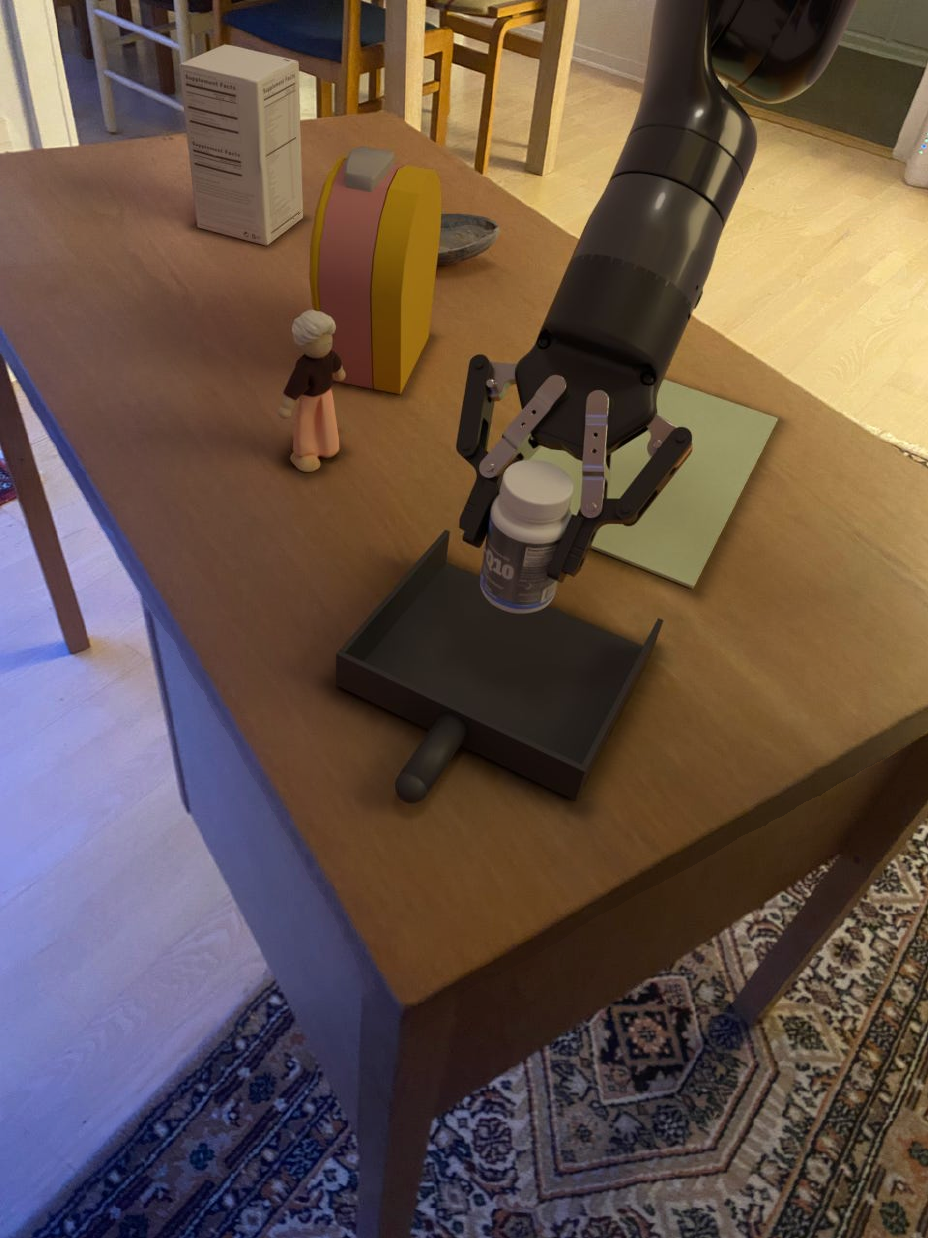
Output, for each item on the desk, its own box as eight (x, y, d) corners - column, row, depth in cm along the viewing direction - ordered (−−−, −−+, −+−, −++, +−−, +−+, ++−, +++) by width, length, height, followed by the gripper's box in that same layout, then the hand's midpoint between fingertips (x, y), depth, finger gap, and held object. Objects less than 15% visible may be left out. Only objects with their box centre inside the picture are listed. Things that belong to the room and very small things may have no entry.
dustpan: (441, 562, 67) (445, 529, 65) (651, 652, 63) (664, 619, 61) (280, 753, 54) (278, 719, 52) (533, 883, 50) (543, 853, 47)
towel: (604, 361, 91) (605, 358, 91) (777, 420, 86) (778, 417, 86) (481, 504, 73) (482, 501, 72) (692, 589, 68) (693, 586, 68)
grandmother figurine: (317, 484, 72) (314, 340, 63) (274, 471, 73) (266, 326, 64) (357, 436, 78) (360, 296, 69) (317, 424, 78) (315, 284, 69)
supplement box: (236, 200, 110) (224, 41, 98) (305, 218, 108) (301, 58, 96) (194, 228, 103) (175, 61, 91) (266, 247, 101) (257, 79, 89)
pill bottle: (466, 571, 56) (481, 461, 50) (533, 556, 58) (556, 448, 52) (498, 624, 53) (518, 514, 47) (568, 606, 55) (595, 498, 49)
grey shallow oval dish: (455, 229, 110) (459, 186, 107) (503, 273, 103) (509, 230, 99) (338, 241, 104) (338, 197, 101) (380, 289, 97) (381, 243, 93)
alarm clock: (355, 313, 93) (357, 119, 80) (432, 328, 92) (448, 135, 79) (308, 386, 82) (303, 176, 69) (395, 404, 82) (406, 195, 69)
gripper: (504, 216, 49) (382, 505, 50) (758, 295, 45) (622, 605, 46) (529, 275, 56) (422, 527, 57) (750, 347, 53) (633, 615, 53)
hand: (513, 560), depth 52 cm, fingers closed on pill bottle, 4 cm apart
